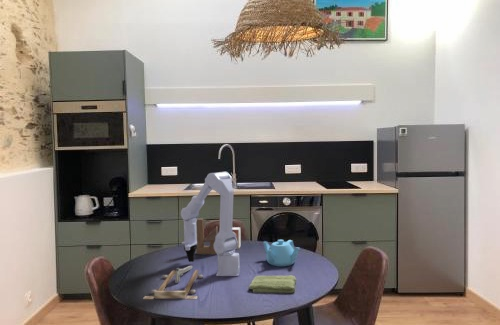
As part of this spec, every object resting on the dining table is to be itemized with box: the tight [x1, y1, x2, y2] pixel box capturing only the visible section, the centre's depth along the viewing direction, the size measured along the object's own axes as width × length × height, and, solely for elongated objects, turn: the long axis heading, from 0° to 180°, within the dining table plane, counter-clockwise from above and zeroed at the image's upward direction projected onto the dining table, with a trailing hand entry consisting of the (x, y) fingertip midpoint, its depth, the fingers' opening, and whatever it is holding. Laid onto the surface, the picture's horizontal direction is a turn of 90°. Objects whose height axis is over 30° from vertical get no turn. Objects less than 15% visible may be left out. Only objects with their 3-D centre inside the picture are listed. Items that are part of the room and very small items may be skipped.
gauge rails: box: [142, 269, 204, 300], centre depth 152 cm, size 20×27×2 cm
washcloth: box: [248, 274, 297, 294], centre depth 148 cm, size 13×18×3 cm
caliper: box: [174, 265, 193, 285], centre depth 163 cm, size 20×1×6 cm, turn 171°
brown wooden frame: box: [195, 217, 219, 256], centre depth 193 cm, size 4×11×18 cm, turn 84°
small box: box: [232, 226, 242, 250], centre depth 204 cm, size 8×6×10 cm
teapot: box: [262, 239, 301, 268], centre depth 177 cm, size 15×15×11 cm
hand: (191, 261), depth 178 cm, fingers closed
